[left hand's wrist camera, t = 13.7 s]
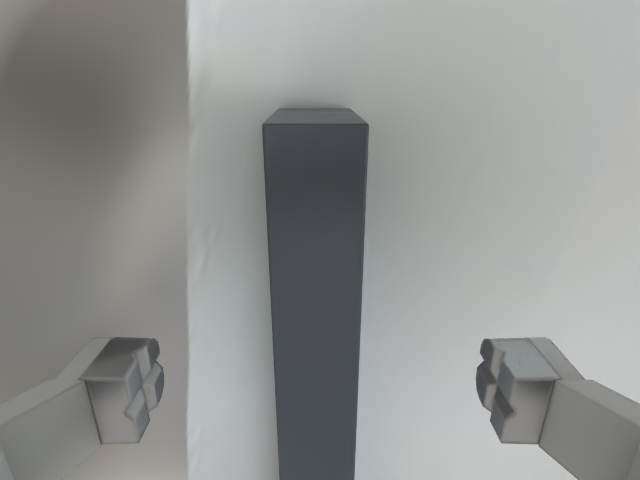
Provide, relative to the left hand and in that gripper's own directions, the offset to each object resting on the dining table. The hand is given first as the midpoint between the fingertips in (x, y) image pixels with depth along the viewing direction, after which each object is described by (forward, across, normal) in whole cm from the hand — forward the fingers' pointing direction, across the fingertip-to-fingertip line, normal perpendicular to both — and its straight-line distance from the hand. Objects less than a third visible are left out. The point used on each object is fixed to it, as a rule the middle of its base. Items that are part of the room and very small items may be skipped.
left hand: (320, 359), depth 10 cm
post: (+16, 0, -21) cm, 26 cm away
